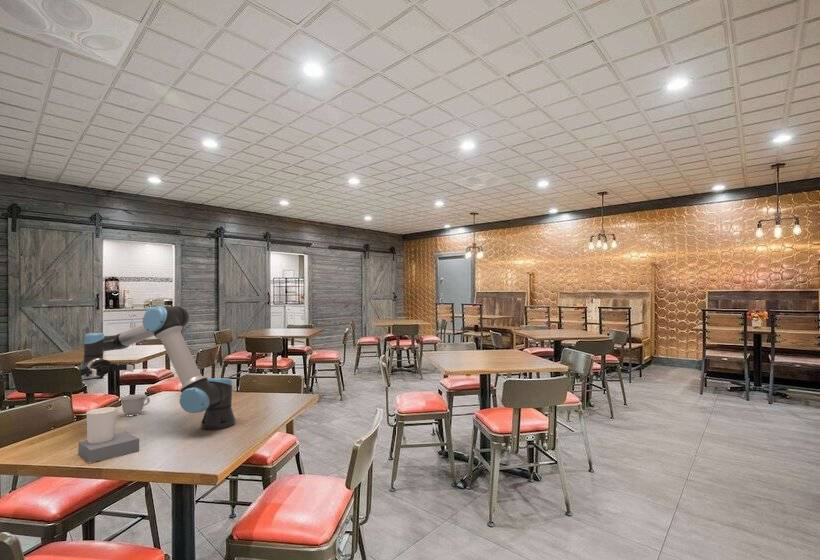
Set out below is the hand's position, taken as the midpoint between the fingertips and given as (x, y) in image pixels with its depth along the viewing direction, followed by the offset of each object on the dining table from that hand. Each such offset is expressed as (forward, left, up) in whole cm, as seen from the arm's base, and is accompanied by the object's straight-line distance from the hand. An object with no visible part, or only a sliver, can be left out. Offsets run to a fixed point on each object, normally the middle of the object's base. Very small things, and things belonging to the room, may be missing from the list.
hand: (114, 370), depth 172 cm
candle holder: (-4, +12, -26) cm, 29 cm away
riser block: (-7, +12, -31) cm, 34 cm away
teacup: (+20, -45, -31) cm, 58 cm away
